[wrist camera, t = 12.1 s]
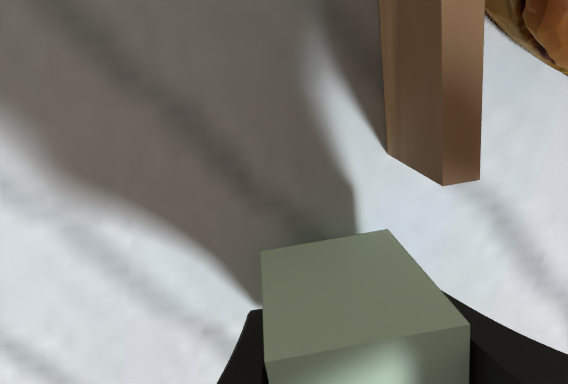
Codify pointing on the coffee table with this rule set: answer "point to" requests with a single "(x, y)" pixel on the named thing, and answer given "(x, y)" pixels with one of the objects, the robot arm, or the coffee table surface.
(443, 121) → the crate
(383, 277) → the pale green cube
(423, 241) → the coffee table surface
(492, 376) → the robot arm
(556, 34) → the burger
